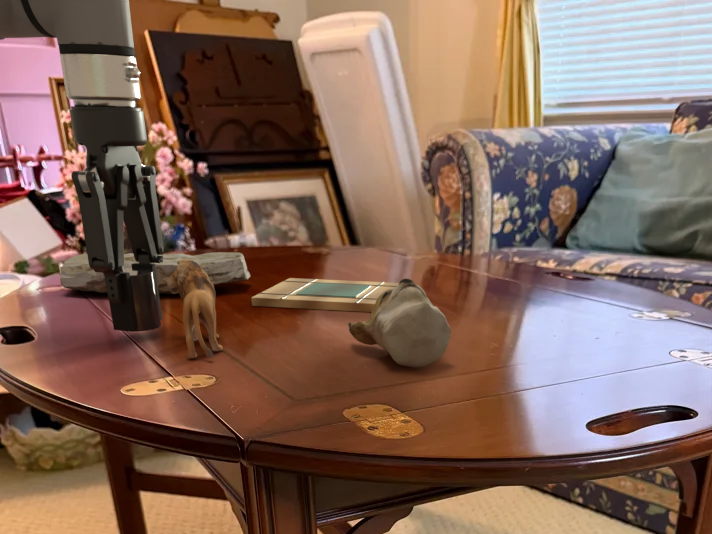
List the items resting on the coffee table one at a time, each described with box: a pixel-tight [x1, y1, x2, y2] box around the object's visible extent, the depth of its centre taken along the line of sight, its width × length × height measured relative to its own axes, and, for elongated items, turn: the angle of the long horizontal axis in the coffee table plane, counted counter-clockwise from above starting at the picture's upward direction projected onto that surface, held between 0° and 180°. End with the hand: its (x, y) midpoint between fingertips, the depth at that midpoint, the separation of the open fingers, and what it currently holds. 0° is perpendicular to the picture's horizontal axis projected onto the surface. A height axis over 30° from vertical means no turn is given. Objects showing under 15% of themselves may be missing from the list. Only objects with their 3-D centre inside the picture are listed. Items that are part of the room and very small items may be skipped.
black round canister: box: [121, 268, 162, 333], centre depth 91 cm, size 5×5×6 cm
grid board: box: [251, 277, 400, 313], centre depth 114 cm, size 20×16×1 cm
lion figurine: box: [165, 259, 224, 359], centre depth 87 cm, size 15×5×9 cm, turn 22°
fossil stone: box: [59, 251, 251, 295], centre depth 118 cm, size 28×15×5 cm, turn 90°
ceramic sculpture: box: [348, 278, 452, 368], centre depth 84 cm, size 11×9×15 cm
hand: (138, 323), depth 92 cm, fingers closed on black round canister, 5 cm apart
